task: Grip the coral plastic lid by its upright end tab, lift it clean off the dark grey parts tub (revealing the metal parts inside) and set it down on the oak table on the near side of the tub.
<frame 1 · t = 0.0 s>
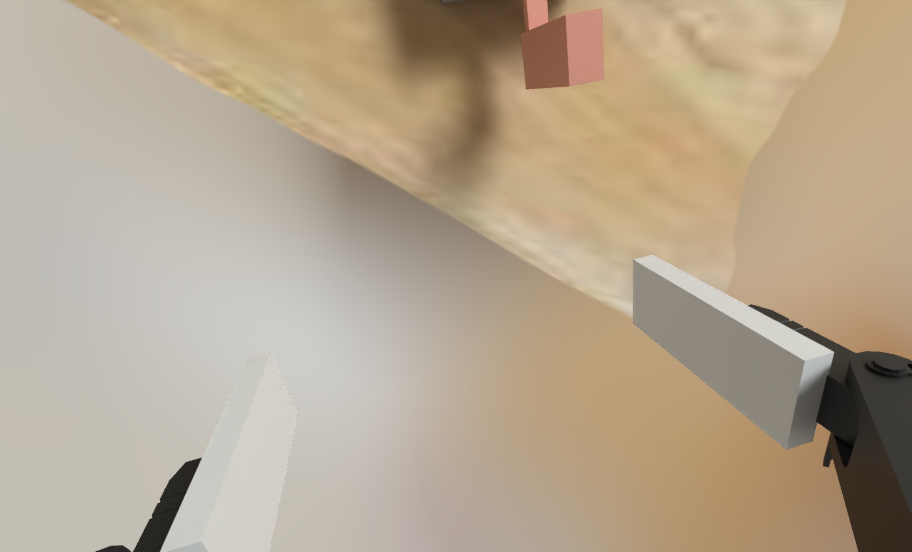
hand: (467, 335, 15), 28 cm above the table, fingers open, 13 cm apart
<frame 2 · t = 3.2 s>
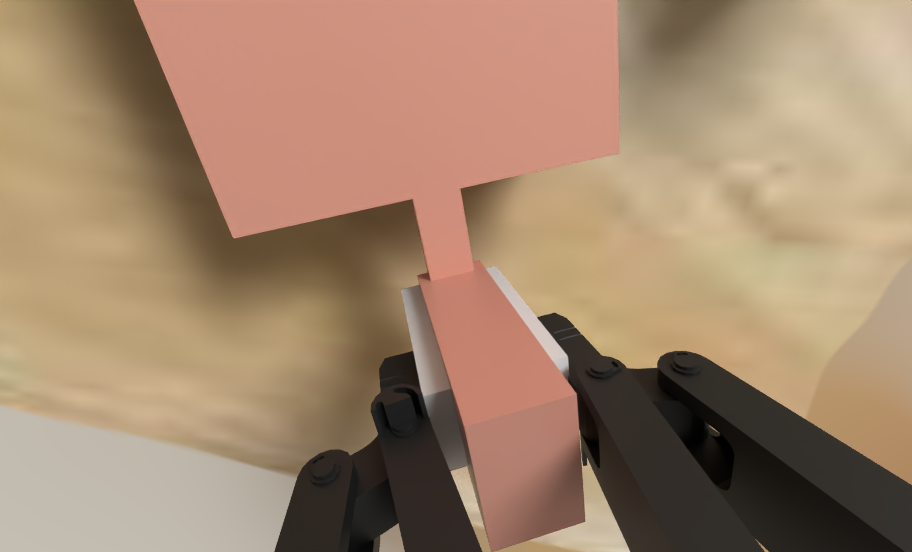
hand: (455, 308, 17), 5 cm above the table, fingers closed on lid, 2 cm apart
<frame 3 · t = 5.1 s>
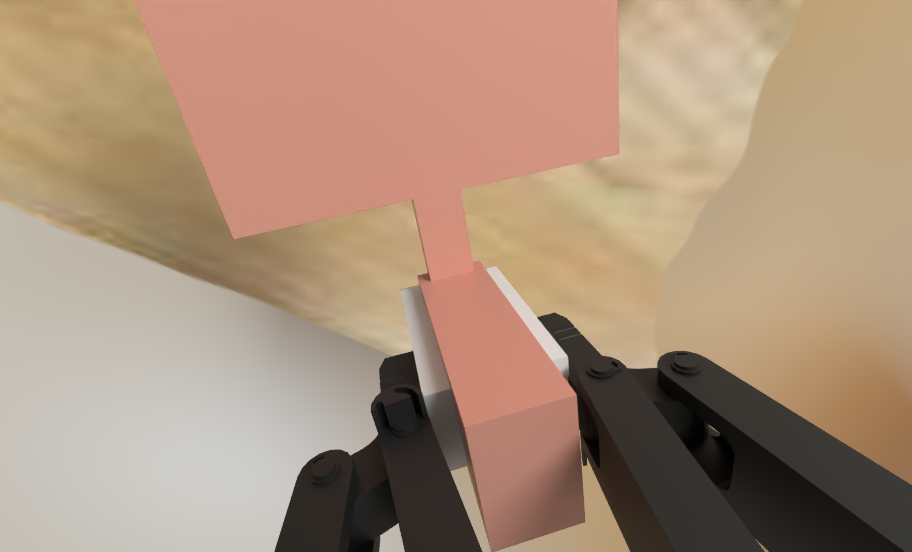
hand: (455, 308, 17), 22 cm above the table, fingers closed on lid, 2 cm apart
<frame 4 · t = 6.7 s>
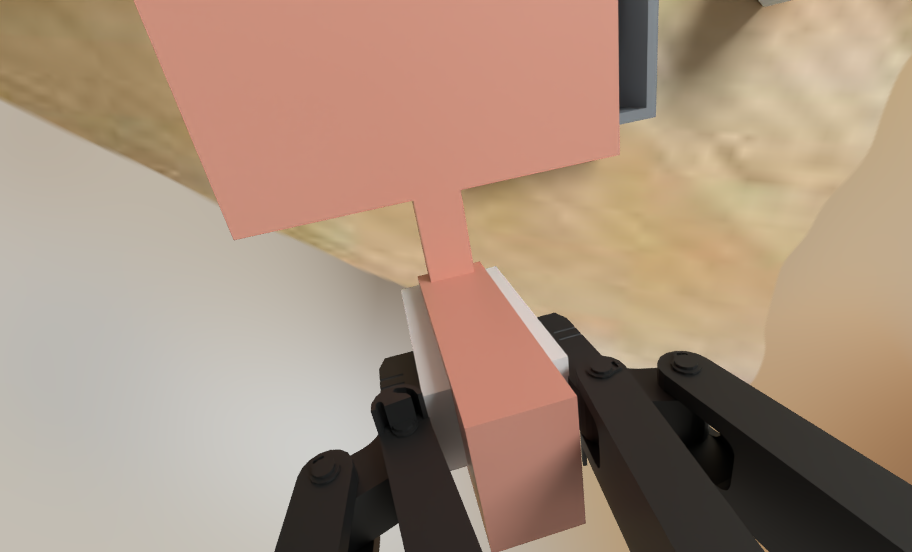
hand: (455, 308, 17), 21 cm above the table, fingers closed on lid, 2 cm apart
tub: (548, 7, 33), on the table
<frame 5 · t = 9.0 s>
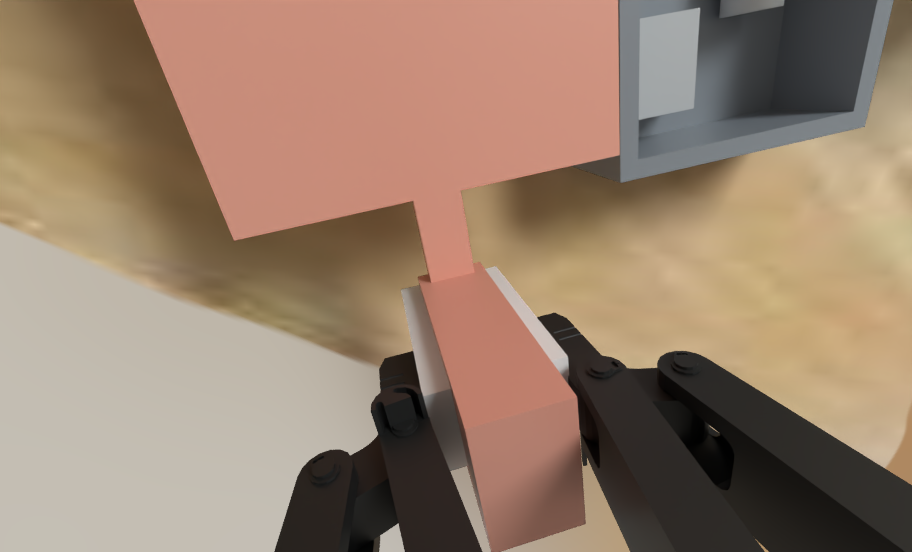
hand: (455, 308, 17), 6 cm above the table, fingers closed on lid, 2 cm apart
when the fingers open (2 cm above the table, at t = 10.6 s): lid drops 3 cm, on the table.
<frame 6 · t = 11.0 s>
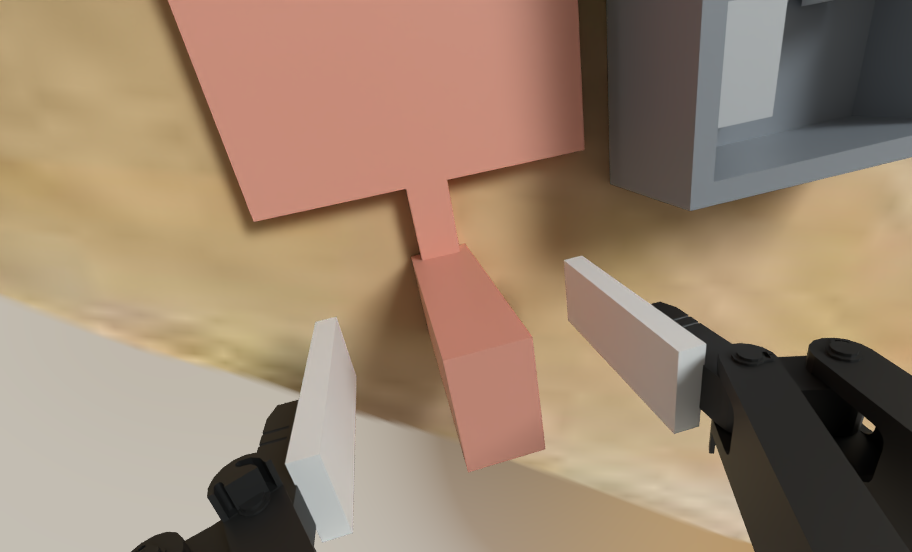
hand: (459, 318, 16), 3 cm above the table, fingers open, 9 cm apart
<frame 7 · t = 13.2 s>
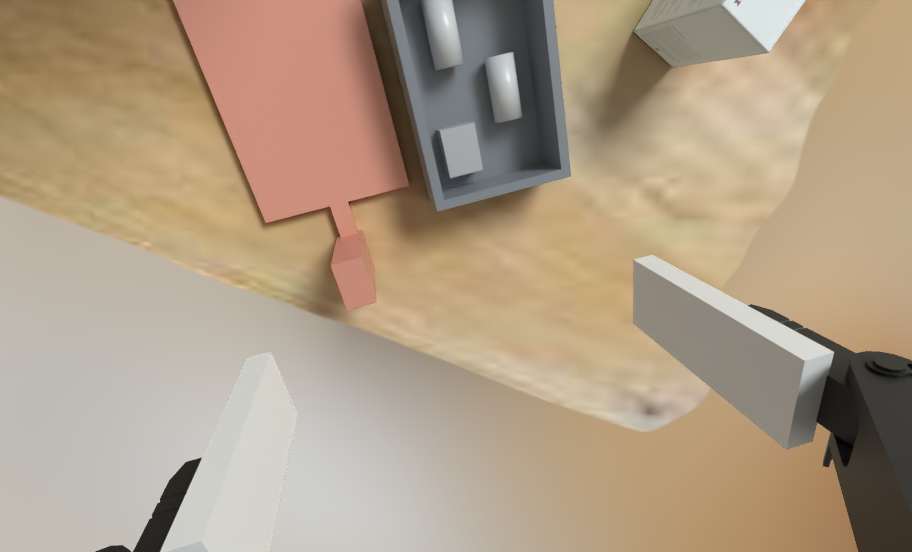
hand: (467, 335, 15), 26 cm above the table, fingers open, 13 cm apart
lid: (301, 90, 34), on the table
small box: (677, 9, 38), on the table
tub: (471, 82, 37), on the table
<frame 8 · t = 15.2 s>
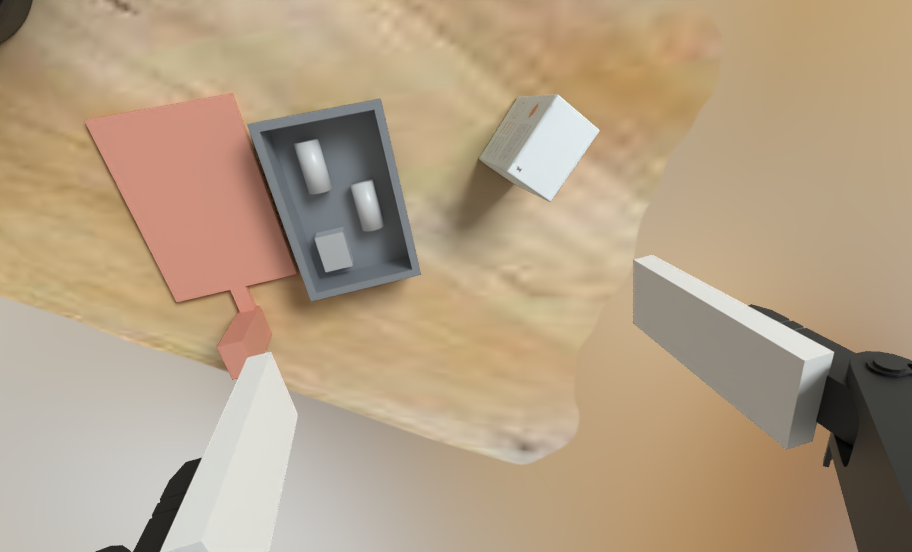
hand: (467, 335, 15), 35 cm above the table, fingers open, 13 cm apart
lid: (204, 203, 44), on the table
small box: (515, 141, 48), on the table
tub: (345, 196, 46), on the table
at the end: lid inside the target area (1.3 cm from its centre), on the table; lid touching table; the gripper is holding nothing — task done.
